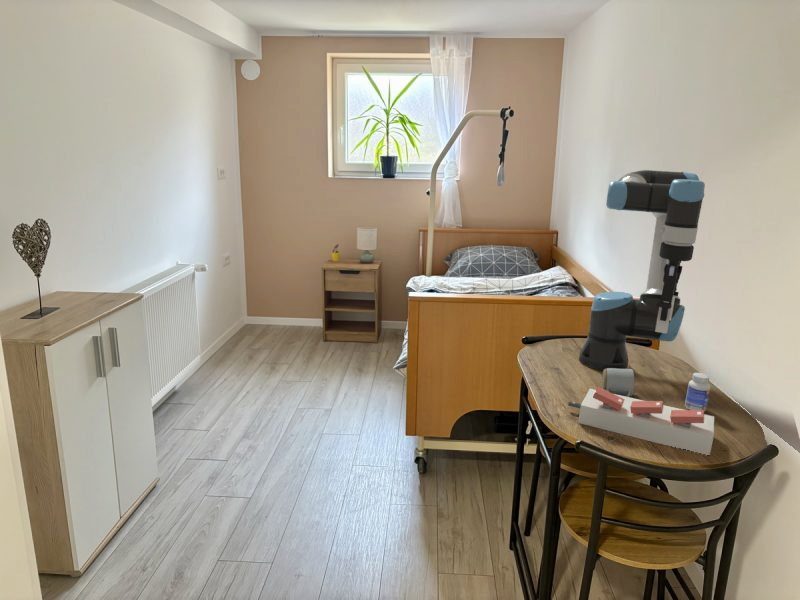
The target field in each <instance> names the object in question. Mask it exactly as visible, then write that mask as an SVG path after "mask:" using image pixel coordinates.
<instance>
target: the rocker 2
mask: <svg viewBox="0 0 800 600" xmlns="http://www.w3.org/2000/svg"><path fill="white" fill-rule="evenodd" d="M663 405H664V401H663V400H643V401H632V404H631V407H630V409H631V413H651V414H662V412H663V408H664V407H663Z"/></svg>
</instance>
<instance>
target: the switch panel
mask: <svg viewBox="0 0 800 600" xmlns="http://www.w3.org/2000/svg"><path fill="white" fill-rule="evenodd" d="M596 390H597V389H593V388H589V389H588V392H587V393H586V395H585V396H584V398H583V400H582V402H581V403H579V402H575V401H572V400H571V401H570V400H569V401H568V404H567V406H569V407H573V408H578V409H579V414H578V415H579V417H578V421H577V423H578V424H580V425H583V426H584V425H586V426H588V427H593V428H597V429H600V430H604V431H609V432H613V433H616V434H621V435H624V436H629V437H633V438H635V439H640V440H644V441H647V442H648V441H649V442H651V443H656V444H660V445H664V446H667V445H668V447H671V446H672V448H675V447H676V449H679V448H681V449H680V450H683V449H686V450H685V451H687V450H690V451H689V452H691V451H694V452H693V453H695V452H699V453H702V454H701V455H703V454H706V455H705V456H707V455H710V456H711V451H712V445H713V440H714V438H715V437H714V436H715V435H714V434H715V431H714V430H715V416H714V415H709V414H705V413H704V423H671V419H670V415H671V410H684V409H682V408H677V407H672V406H669V405H664V404H663V407H664V408H663V412H662V414H651V413H631V409H630V407H631V404H632V401H644V400H642V399H638V398H634V397H626V396H622V395H617V394H614V395H617V396H619V397H621V398H623V399H625V400H624V403H623V405H622V407H621V409H620V411H619V410H617V409H615V408H613V407H611V406H609V405H607V404H605V403H603V402H601V401H599V400H597V399H595V398H593V396H594V394H595V391H596ZM699 453H698V454H699Z"/></svg>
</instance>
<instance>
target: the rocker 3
mask: <svg viewBox="0 0 800 600" xmlns="http://www.w3.org/2000/svg"><path fill="white" fill-rule="evenodd" d="M704 414H705V411H704V410H689V409H683V410H671V415H670V419H671V423H704Z"/></svg>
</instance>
